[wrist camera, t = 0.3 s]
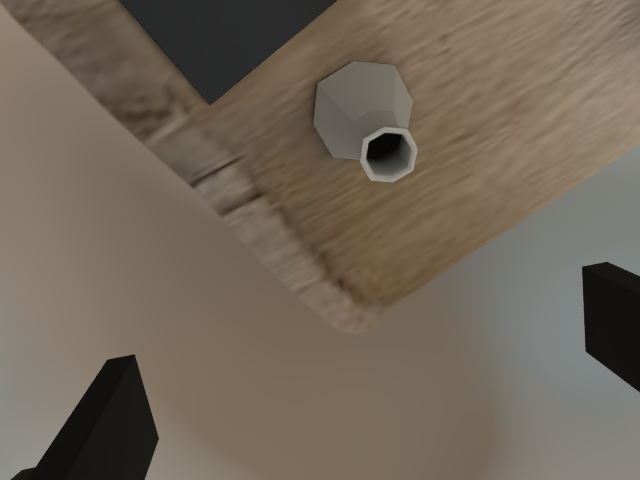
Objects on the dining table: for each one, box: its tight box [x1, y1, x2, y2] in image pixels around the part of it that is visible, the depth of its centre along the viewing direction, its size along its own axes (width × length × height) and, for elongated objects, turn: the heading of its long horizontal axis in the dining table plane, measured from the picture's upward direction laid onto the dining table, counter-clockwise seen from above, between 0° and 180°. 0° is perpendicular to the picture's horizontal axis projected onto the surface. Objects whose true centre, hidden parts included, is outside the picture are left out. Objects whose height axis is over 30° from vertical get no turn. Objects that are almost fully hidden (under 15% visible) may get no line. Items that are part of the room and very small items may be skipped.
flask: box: [313, 61, 418, 182], centre depth 32 cm, size 7×7×10 cm
